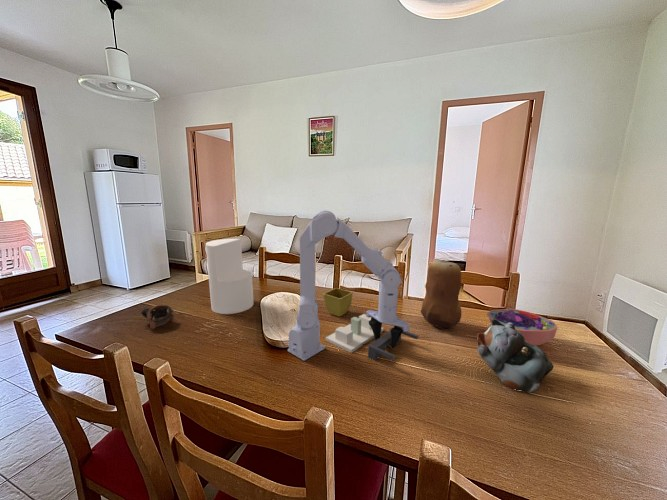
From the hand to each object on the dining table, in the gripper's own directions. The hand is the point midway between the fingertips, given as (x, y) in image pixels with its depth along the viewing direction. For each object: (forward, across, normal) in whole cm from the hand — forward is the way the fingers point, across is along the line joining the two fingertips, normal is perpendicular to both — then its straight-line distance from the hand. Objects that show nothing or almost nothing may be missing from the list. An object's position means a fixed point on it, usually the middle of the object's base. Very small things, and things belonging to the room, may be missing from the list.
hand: (385, 343), depth 89 cm
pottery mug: (+2, +72, +43) cm, 84 cm away
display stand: (+2, +12, 0) cm, 12 cm away
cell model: (+2, -31, -34) cm, 46 cm away
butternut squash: (+2, -7, -27) cm, 28 cm away
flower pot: (+2, +28, -9) cm, 29 cm away
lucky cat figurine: (+2, -32, -12) cm, 35 cm away
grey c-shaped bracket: (+2, -3, 0) cm, 3 cm away
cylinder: (+2, +67, +16) cm, 69 cm away
